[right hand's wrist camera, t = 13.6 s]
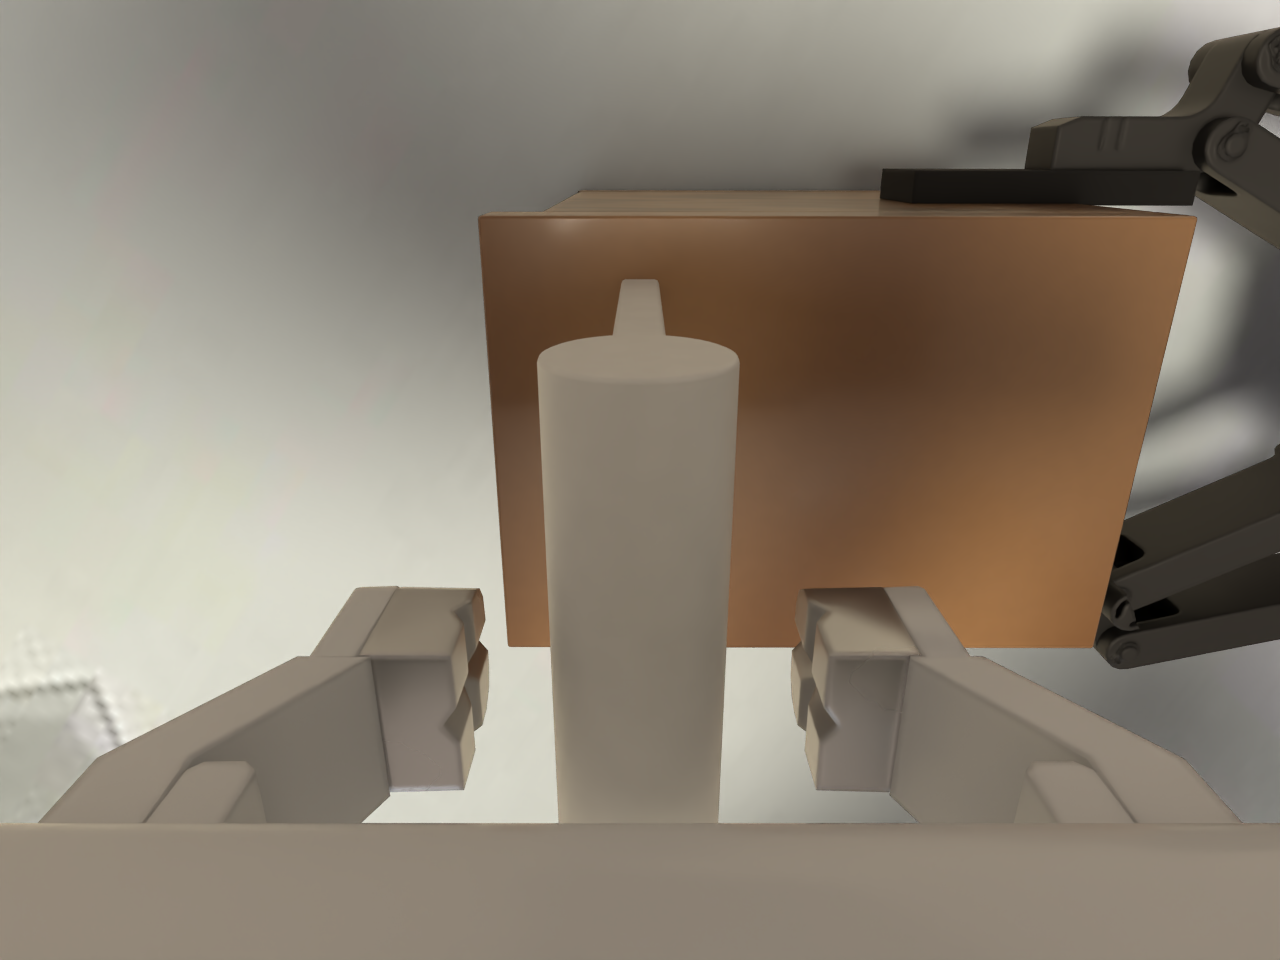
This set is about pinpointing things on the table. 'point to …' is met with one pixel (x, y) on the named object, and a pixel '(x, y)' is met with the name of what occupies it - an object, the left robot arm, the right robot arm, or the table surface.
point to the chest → (781, 202)
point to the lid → (800, 446)
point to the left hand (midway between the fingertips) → (874, 383)
